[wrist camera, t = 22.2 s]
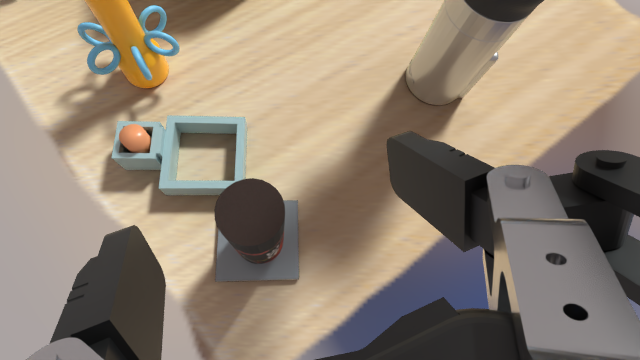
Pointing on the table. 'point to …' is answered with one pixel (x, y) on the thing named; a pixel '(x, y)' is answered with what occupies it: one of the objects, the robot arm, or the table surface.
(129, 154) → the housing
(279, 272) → the coaster
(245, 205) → the deodorant
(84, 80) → the table surface
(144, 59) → the multicoloured piece
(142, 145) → the brown egg
